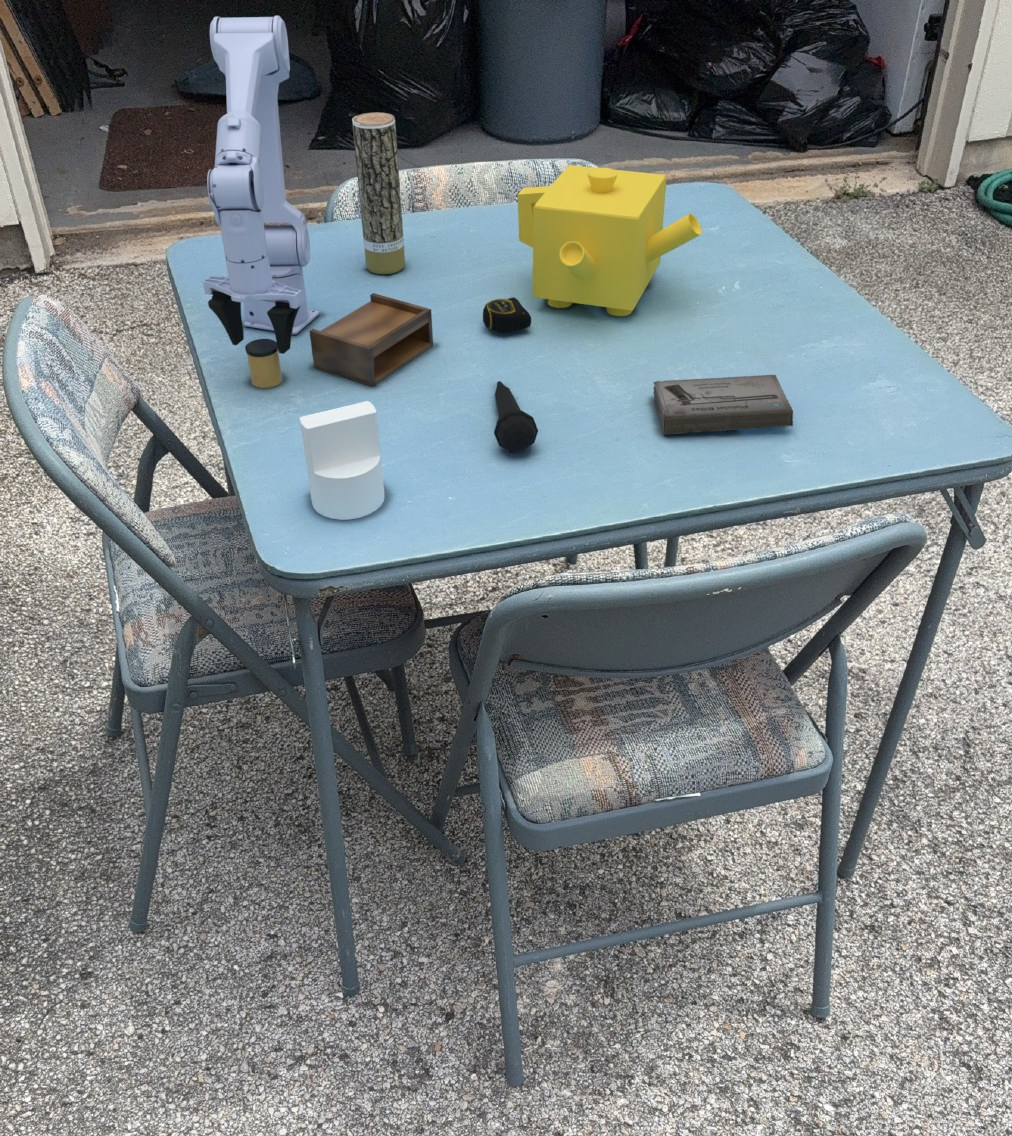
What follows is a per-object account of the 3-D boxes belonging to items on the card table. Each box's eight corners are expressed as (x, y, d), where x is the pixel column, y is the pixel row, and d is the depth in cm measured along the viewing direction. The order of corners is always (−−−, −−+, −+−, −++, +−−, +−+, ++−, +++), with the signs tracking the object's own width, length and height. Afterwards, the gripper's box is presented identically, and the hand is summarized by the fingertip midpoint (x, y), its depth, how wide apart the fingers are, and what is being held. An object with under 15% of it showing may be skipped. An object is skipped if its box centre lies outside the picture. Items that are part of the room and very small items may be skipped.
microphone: (488, 407, 164) (506, 466, 147) (474, 372, 161) (491, 429, 144) (523, 393, 164) (546, 451, 147) (510, 358, 161) (531, 413, 144)
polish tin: (245, 385, 164) (238, 350, 161) (261, 371, 167) (255, 336, 164) (272, 390, 163) (267, 355, 159) (288, 376, 166) (283, 341, 163)
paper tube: (413, 265, 197) (403, 116, 181) (389, 279, 192) (377, 128, 177) (382, 257, 200) (369, 110, 184) (358, 270, 195) (343, 121, 180)
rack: (313, 367, 168) (309, 330, 164) (376, 328, 178) (373, 292, 174) (372, 386, 163) (368, 349, 160) (433, 345, 173) (431, 309, 169)
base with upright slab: (325, 527, 136) (313, 441, 129) (302, 489, 143) (290, 406, 135) (395, 508, 139) (387, 423, 132) (370, 471, 146) (361, 389, 138)
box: (792, 430, 151) (795, 409, 149) (663, 436, 151) (664, 416, 149) (775, 392, 160) (777, 372, 158) (652, 398, 160) (653, 378, 158)
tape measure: (532, 334, 176) (533, 311, 173) (490, 340, 174) (490, 318, 172) (518, 315, 181) (518, 293, 178) (477, 322, 179) (477, 299, 177)
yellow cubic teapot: (671, 355, 170) (682, 224, 157) (485, 329, 177) (482, 201, 165) (714, 264, 196) (727, 145, 183) (551, 244, 203) (552, 128, 191)
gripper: (184, 259, 152) (202, 350, 161) (278, 273, 148) (292, 366, 157) (212, 239, 158) (228, 329, 166) (305, 253, 153) (316, 344, 162)
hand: (261, 346), depth 162 cm, fingers open, 7 cm apart
